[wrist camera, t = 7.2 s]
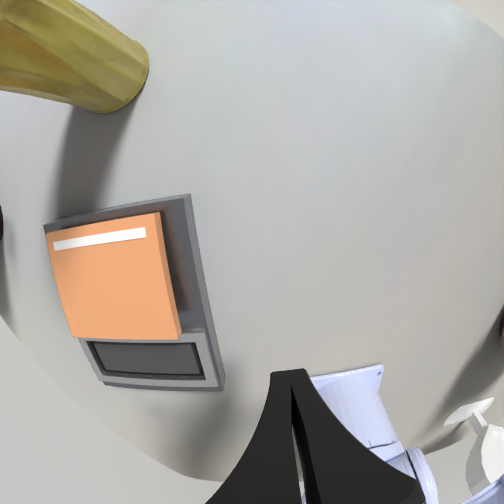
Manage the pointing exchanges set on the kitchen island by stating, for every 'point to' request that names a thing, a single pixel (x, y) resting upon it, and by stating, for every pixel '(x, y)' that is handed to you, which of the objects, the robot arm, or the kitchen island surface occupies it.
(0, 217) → the coffee mug
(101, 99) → the vase
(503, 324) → the flowerpot
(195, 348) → the plunger
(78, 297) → the panel
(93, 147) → the kitchen island surface
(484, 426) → the heart sculpture
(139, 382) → the console
